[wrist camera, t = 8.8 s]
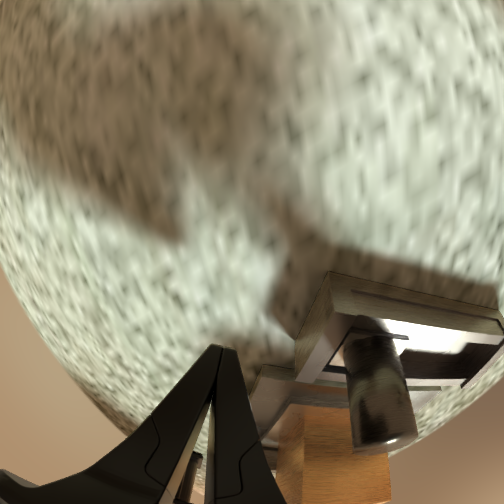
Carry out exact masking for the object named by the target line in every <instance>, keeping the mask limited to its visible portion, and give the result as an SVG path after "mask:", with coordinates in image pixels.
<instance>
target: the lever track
mask: <svg viewBox="0 0 504 504" xmlns="http://www.w3.org/2000/svg"><path fill="white" fill-rule="evenodd" d="M350 327H357V328H363V329H369V330H376V331H382V332H389V333H396V334H403V335H408V336H409V339H410V342H409V344H408V345H407V346H406V347H405V349H404V350H403V351H402V352H401V353H400V355H399V357H400V360H401V364H402V367H403V371H404V375H405V378H406V382H407V386H451V385H460V386H461V389H465V388H470V387H471V386H472V385H473V384H474V383H475V382H476V381H477V380H478V379H479V378H480V377H481V376H482V375H483V374H484V373H485V372H486V371H487V370H488V369H489V368H490V367H491V366H492V365H493V364H494V363H495V362H496V361H497V360H498V359H499V358H500V356H501V355H502V354H503V353H504V318H503V316H502V314H501V313H500V311H499V310H494V309H490V308H486V307H481V306H477V305H472V304H468V303H464V302H459V301H455V300H451V299H446V298H442V297H438V296H433V295H429V294H425V293H420V292H416V291H411V290H407V289H403V288H398V287H394V286H390V285H385V284H381V283H377V282H372V281H368V280H364V279H359V278H355V277H351V276H346V275H342V274H338V273H334V272H329V271H328V272H327V274H326V277H325V279H324V281H323V284H322V286H321V288H320V290H319V292H318V295H317V297H316V299H315V301H314V303H313V306H312V308H311V310H310V312H309V314H308V316H307V318H306V320H305V323H304V325H303V327H302V329H301V331H300V333H299V335H298V337H297V339H296V341H295V381H298V382H305V383H313V382H314V381H315V380H316V379H321V380H330V381H339V382H346V375H345V367H344V366H336V365H329V359H330V358H331V356H332V355H333V353H334V352H335V350H336V349H337V347H338V346H339V344H340V343H341V341H342V340H343V338H344V337H345V335H346V333H347V332H348V330H349V329H350Z"/></svg>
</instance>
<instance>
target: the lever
mask: <svg viewBox="0 0 504 504" xmlns="http://www.w3.org/2000/svg"><path fill="white" fill-rule="evenodd" d="M409 342H410V339H409V336H408V335H403V334H396V333H389V332H382V331H376V330H369V329H363V328H357V327H350V329H349V330H348V332H347V333H346V335H345V337H344V338H343V340H342V341H341V343H340V344H339V346H338V347H337V349H336V350H335V352H334V353H333V355H332V356H331V358H330V359H329V365H336V366H344V367H345V375H346V383H347V392H348V402H349V412H350V423H351V436H352V451H353V453H354V454H355V455H360V456H371V455H378V454H383V453H387V452H391V451H394V450H397V449H399V448H402V447H404V446H406V445H408V444H410V443H411V442H413V441H414V440H415V439H416V438H417V437H418V431H417V426H416V421H415V416H414V411H413V407H412V403H411V398H410V394H409V390H408V386H407V382H406V378H405V375H404V371H403V367H402V364H401V360H400V357H399V355H400V353H401V352H402V351H403V350H404V349H405V347H406V346H407V345H408V344H409Z"/></svg>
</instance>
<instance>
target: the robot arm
mask: <svg viewBox="0 0 504 504" xmlns="http://www.w3.org/2000/svg"><path fill="white" fill-rule="evenodd" d="M221 355H222V356H221ZM213 391H214V392H213ZM211 400H212V401H211ZM210 404H211V408H210V420H209V434H208V448H207V463H206V480H205V500H204V504H287V503H286V501H285V499H284V497H283V495H282V493H281V491H280V489H279V487H278V485H277V483H276V481H275V478H274V476H273V474H272V472H271V469H270V467H269V465H268V462H267V459H266V456H265V453H264V450H263V446H262V443H261V441H260V437H259V433H258V430H257V426H256V422H255V419H254V415H253V412H252V408H251V404H250V401H249V397H248V393H247V390H246V386H245V382H244V378H243V374H242V370H241V367H240V363H239V359H238V355H237V351H236V349H234V348H229V347H224V348H223V347H222V346H221V345H216V344H210V345H209V347H208V348H207V349H206V350H205V351H204V352H203V354H202V355H201V356H200V357H199V358H198V359H197V361H196V362H195V363H194V364H193V365H192V367H191V368H190V369H189V370H188V371H187V372H186V374H185V375H184V376H183V377H182V378H181V379H180V380H179V382H178V383H177V384H176V385H175V386H174V387H173V389H172V390H171V391H170V392H169V393H168V394H167V395H166V397H165V398H164V399H163V400H162V401H161V402H160V403H159V405H158V406H157V407H156V408H155V409H154V410H153V411H152V413H151V415H149V416H148V417H147V418H146V419H145V420H144V421H143V422H142V423H141V425H140V426H139V427H138V428H137V429H136V430H135V431H134V432H133V433H132V434H131V435H129V436H128V437H127V438H126V439H125V440H124V441H123V442H121V443H120V444H119V445H118V446H117V447H115V448H114V449H113V450H112V451H110V452H109V453H108V454H106V455H105V456H104V457H103V458H101V459H100V460H99V461H98V462H96V463H95V464H94V465H92V466H91V467H89V468H87V469H85V470H83V471H82V472H79V473H77V474H74V475H71V476H69V477H66V478H64V479H60V480H57V481H55V482H51V483H48V484H45V485H42V486H38V485H36V484H33V483H31V482H29V481H27V480H25V479H23V478H21V477H18V476H17V475H15V474H13V473H10V472H9V471H6V470H4V469H0V504H192V503H190V498H191V494H192V489H193V485H194V480H195V475H196V471H197V468H198V469H200V468H201V464H202V460H203V456H201V455H198V454H194V453H192V451H193V449H194V446H195V444H196V441H197V438H198V436H199V433H200V431H201V428H202V425H203V423H204V420H205V417H206V415H207V412H208V409H209V407H210Z"/></svg>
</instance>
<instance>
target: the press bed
mask: <svg viewBox="0 0 504 504" xmlns="http://www.w3.org/2000/svg"><path fill="white" fill-rule="evenodd" d="M408 390H409V394H410V398H411V403H412V407H413V411H414V414H415V413H416V412H418V411H419V410H420V409H421V408H422V407H424V406H425V405H426V404H427V403H428V402H429V401H431V400H432V399H433V398H434V397H435V396H436V395H437V394H439V393H440V392H441V391H442V390H441V387H440V386H408ZM249 401H250V404H251V408H252V412H253V415H254V419H255V422H256V426H257V430H258V433H259V437H260V441H261V443H262V446H263V450H264V453H265V456H266V459H267V462H268V465H269V467H270V469H271V472H272V473H276V467H277V455H278V443H279V442H280V441H281V440H282V439H283V438H284V437H285V436H286V435H287V434H288V433H289V432H290V431H291V429H292V428H293V427H294V426H295V425H296V424H297V423H298V422H299V421H300V420H301V419H302V418H303V416H304V415H307V416H318V417H333V418H350V412H349V402H348V392H347V383H346V382H339V381H330V380H321V379H316V380H315V381H314V382H313V383H305V382H298V381H295V370H294V369H287V368H281V367H276V366H270V365H265V364H263V366H262V368H261V370H260V373H259V375H258V377H257V379H256V382H255V384H254V386H253V388H252V391H251V393H250V395H249Z"/></svg>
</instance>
